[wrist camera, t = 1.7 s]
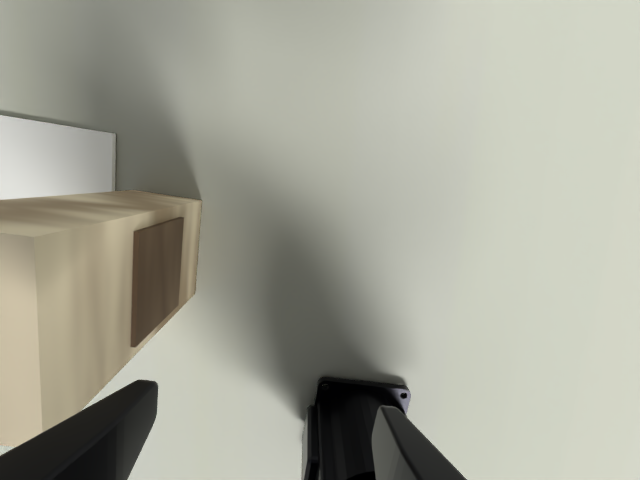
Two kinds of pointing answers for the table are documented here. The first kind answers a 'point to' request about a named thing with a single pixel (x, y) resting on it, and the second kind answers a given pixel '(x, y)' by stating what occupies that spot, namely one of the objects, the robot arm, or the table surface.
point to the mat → (54, 159)
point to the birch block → (84, 295)
